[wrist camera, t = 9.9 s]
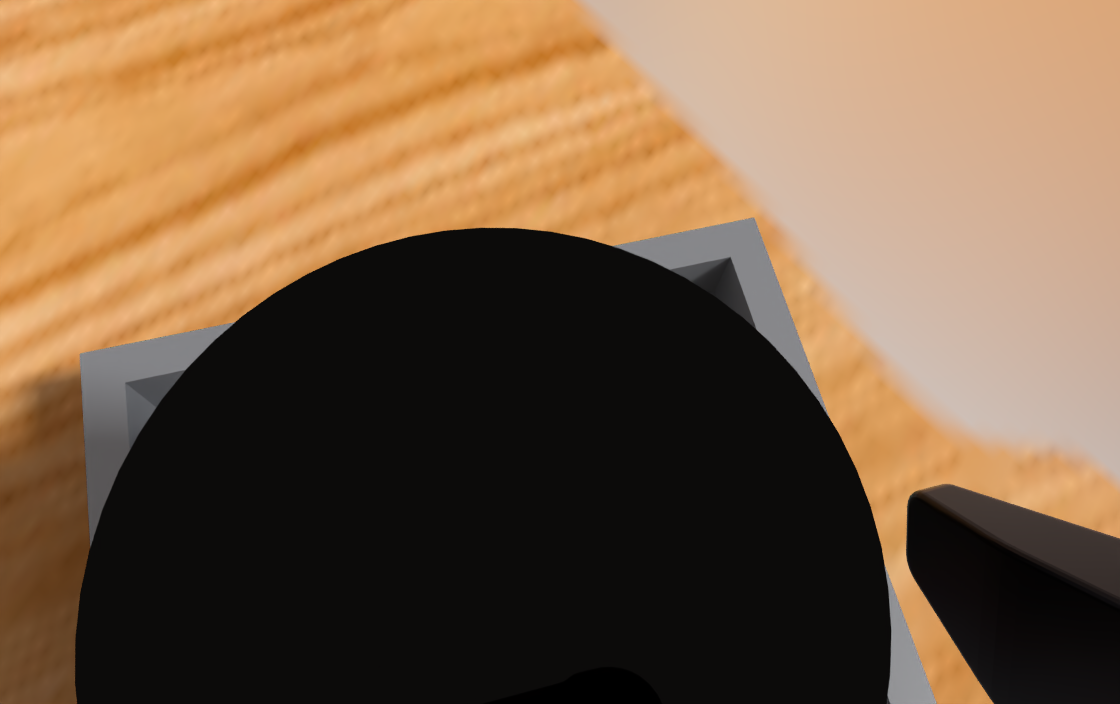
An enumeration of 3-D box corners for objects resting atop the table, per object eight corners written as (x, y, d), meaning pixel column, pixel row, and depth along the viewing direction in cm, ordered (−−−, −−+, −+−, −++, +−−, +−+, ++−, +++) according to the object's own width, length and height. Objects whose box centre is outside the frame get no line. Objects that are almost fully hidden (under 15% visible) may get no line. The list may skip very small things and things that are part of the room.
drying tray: (1005, 1052, 15) (1091, 1115, 13) (203, 1331, 14) (139, 1460, 11) (728, 270, 21) (754, 217, 19) (132, 394, 19) (79, 353, 17)
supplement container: (412, 432, 18) (292, 139, 9) (719, 536, 18) (955, 349, 8) (272, 765, 16) (-112, 879, 6) (622, 899, 15) (796, 1247, 6)
